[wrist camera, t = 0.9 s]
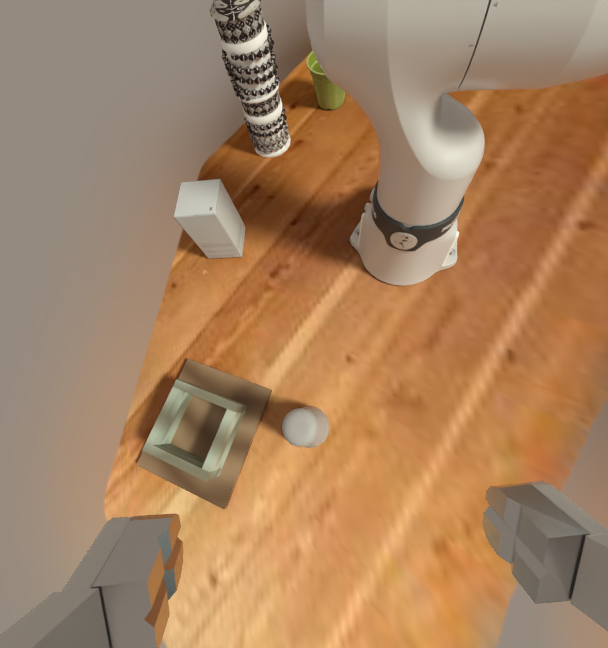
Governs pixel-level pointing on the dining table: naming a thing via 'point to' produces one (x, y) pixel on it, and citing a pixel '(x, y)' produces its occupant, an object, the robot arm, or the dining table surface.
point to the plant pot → (324, 86)
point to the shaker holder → (205, 432)
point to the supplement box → (210, 218)
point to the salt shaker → (305, 427)
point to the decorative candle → (253, 72)
